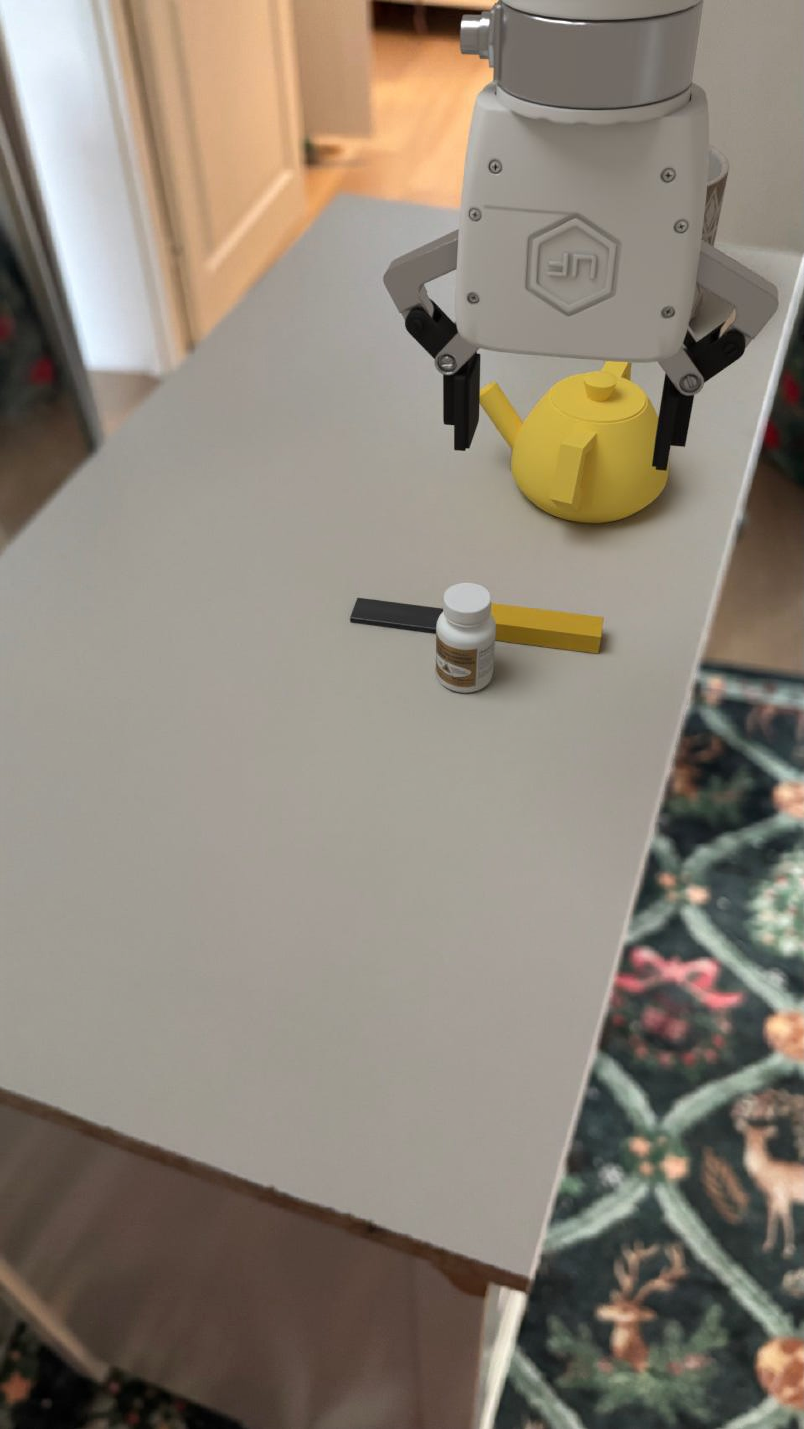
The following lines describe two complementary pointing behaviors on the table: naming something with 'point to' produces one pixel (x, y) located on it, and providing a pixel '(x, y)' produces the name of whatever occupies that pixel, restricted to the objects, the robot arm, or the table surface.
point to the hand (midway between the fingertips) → (562, 445)
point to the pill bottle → (465, 638)
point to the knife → (509, 622)
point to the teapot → (583, 445)
